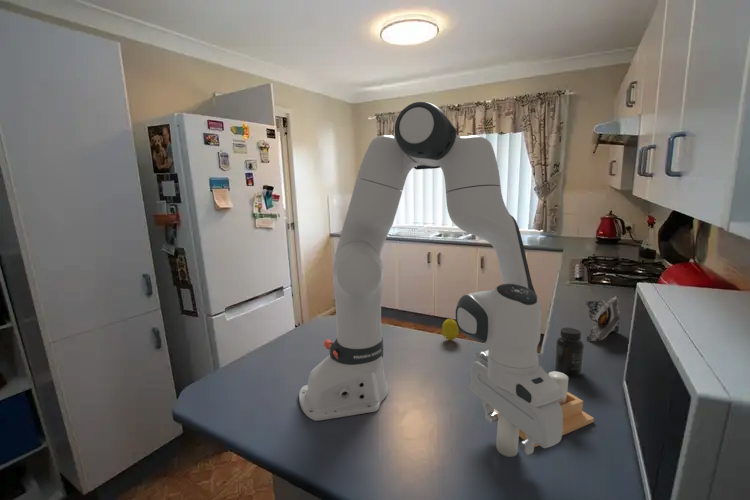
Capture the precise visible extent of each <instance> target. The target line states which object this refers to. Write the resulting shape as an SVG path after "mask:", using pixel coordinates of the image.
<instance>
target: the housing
mask: <svg viewBox="0 0 750 500" xmlns="http://www.w3.org/2000/svg"><path fill="white" fill-rule="evenodd" d="M547 374H548V375H549V376H550V377H551V378H552V379H553V380H554V381H555V382H556V383H557V384H558V385H559V386H560V387H561V388H562V391H563V394H562V397H561V398H560V399H558V400H557V401H558V402H559V403H560V405H561V408H562V413H563V427H562V436H564V435H567V434H569V433H571V432H573V431H576V430H578V429H581V428H583V427H585V426H587V425H590V424H592V423H594V421H595V420H594V419H595V418H594V417H593V416H591V415H589V414H588V413H586V412H585V411H583V407H584V405H583V404H584V400H583V399H580V398H579V397H577V396H576V395H574V394H572V393H571V392H569V391H568V387H569V386H568V385H569V376H567V375H565V374H564V373H561V372H557V371H556V370H554V371H550V372H548V373H547ZM494 412H495V413H497V417H496V418H497V419H498V411H496V410H495V409H494ZM519 438H521V439H522V441H525V440H527V438H526V434H525V433H524V432H523V431H521V430H520V429H519ZM539 446H540V445H539V444H537V443H536V444H535V445H534V448H536V447H539Z"/></svg>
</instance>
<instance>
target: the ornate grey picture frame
mask: <svg viewBox="0 0 750 500" xmlns="http://www.w3.org/2000/svg"><path fill="white" fill-rule="evenodd" d="M619 304H620V298H619V297H618V296H617V295H614V297H610V298H609V299H608V301H606V300H599V301H596V300H595V301H594V300H593V301H589V300H588V301H585V305H586V306H587V307H588V308H589V310H588V316H589V318H590V320H591V321H592V322H591V323H592V326H593V327H592V328H591V329H589V332H588V333H589V334H588V335H587V336H586V341H594V340H598V341H602V340H604V339H606V338H607V336H608V335H609V334H610V333H619V329H620V321H621V317H620V316H619V315H620V313H621V310H620V309H619Z"/></svg>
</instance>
